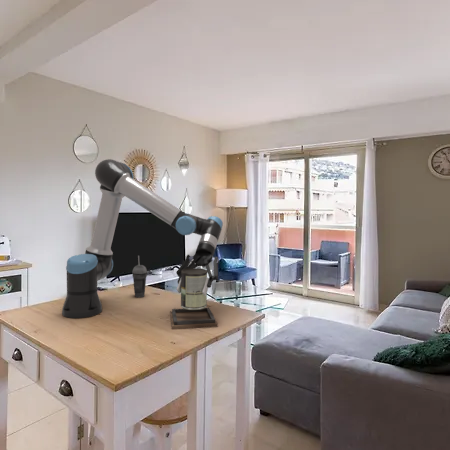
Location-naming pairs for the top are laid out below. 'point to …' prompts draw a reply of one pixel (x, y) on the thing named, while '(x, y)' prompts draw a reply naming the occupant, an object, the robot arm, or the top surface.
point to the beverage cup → (139, 279)
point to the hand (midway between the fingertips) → (191, 292)
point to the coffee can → (193, 288)
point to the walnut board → (192, 318)
